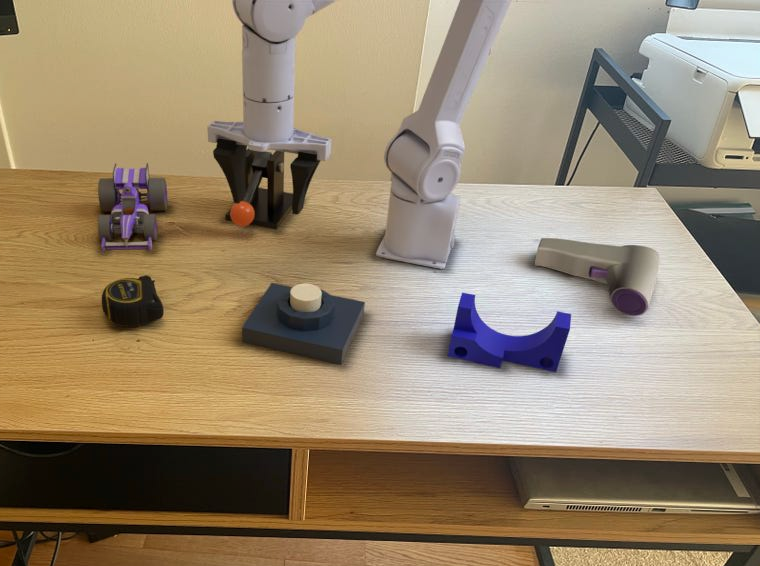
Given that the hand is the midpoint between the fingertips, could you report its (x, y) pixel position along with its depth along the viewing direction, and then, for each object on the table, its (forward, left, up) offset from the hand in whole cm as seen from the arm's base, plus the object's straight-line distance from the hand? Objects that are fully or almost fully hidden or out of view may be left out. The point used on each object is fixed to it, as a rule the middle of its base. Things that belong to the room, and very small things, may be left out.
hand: (268, 205), depth 90 cm
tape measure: (+12, +13, -11) cm, 21 cm away
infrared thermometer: (-40, -13, -11) cm, 43 cm away
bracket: (+7, -17, -10) cm, 21 cm away
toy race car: (+23, -6, -11) cm, 26 cm away
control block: (-8, +9, -10) cm, 16 cm away
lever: (+7, -13, -6) cm, 16 cm away
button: (-8, +9, -7) cm, 14 cm away
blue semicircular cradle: (-31, +6, -11) cm, 33 cm away
